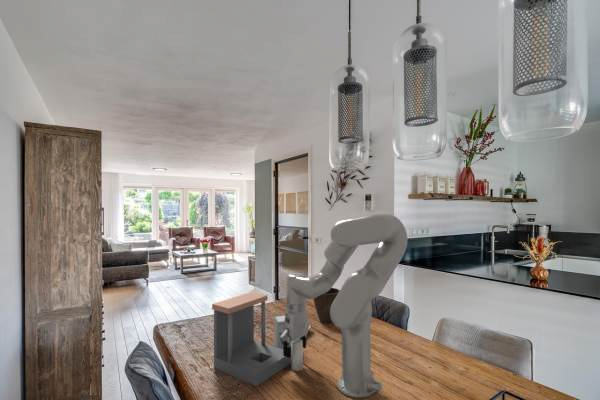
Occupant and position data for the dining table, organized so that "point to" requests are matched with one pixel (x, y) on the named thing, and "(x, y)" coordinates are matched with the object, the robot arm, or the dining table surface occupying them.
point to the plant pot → (325, 304)
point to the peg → (297, 355)
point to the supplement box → (279, 331)
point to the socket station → (244, 341)
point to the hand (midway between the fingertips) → (295, 351)
